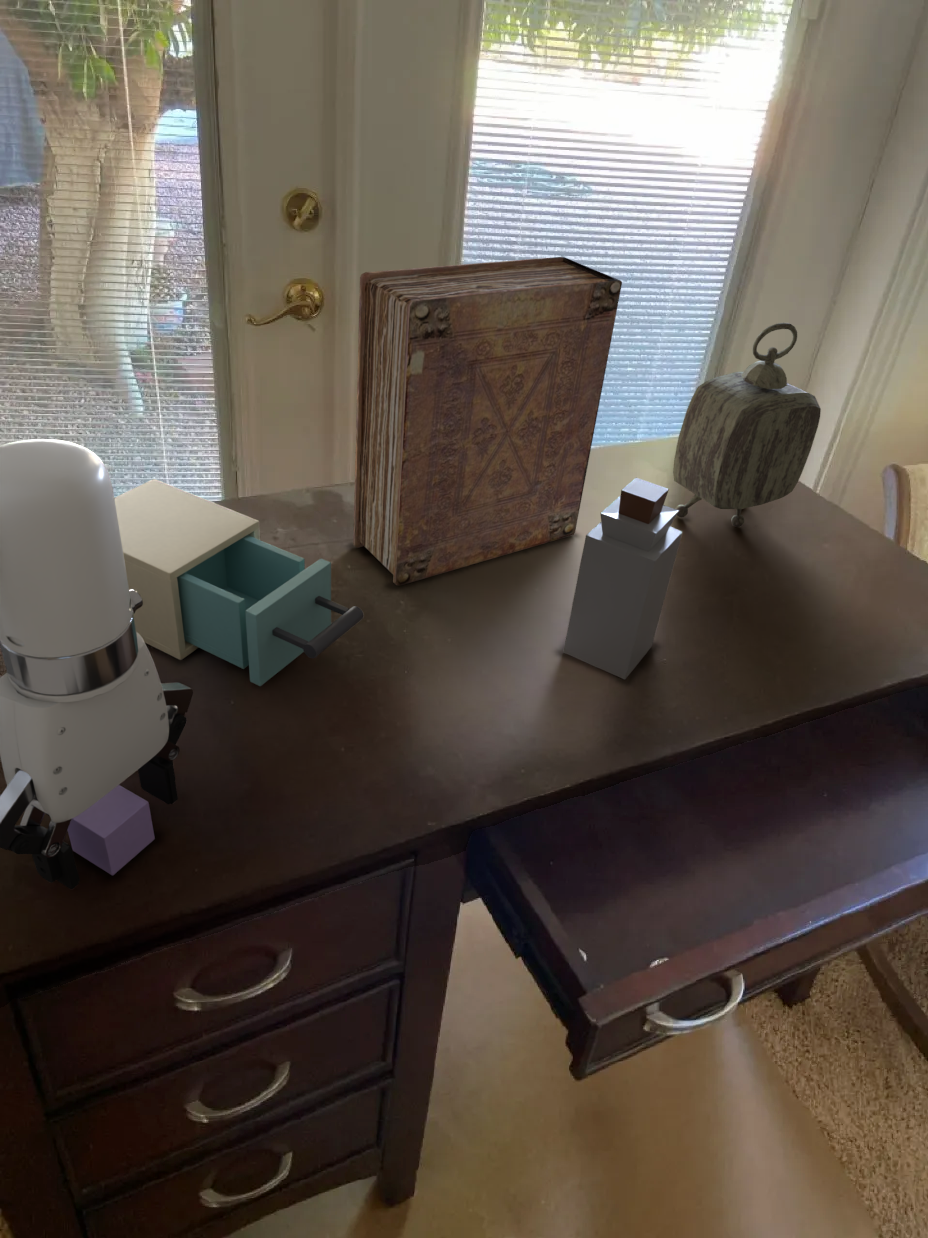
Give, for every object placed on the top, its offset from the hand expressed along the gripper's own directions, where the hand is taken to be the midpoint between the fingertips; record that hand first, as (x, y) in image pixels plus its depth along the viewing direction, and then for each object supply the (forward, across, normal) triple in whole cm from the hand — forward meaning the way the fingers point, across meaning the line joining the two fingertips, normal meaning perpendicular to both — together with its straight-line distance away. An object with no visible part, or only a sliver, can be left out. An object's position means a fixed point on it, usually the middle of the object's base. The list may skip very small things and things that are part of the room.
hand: (112, 833), depth 64 cm
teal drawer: (0, -24, -6) cm, 25 cm away
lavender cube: (+1, 0, 0) cm, 1 cm away
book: (+2, -54, -1) cm, 54 cm away
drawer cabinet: (+1, -24, -18) cm, 30 cm away
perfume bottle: (+2, -44, +21) cm, 49 cm away
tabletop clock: (+2, -79, +23) cm, 82 cm away
